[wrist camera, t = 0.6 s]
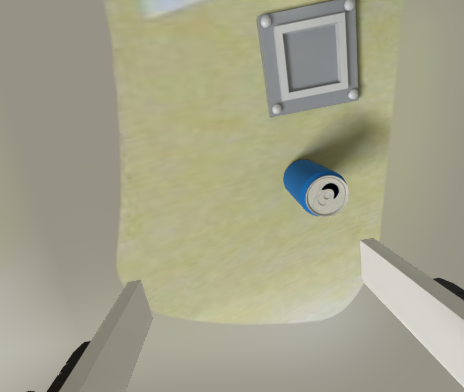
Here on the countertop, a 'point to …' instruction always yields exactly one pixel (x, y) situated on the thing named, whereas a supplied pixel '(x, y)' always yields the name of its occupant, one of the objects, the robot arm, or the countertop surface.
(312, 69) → the socket plate
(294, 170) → the beverage can
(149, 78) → the countertop surface
